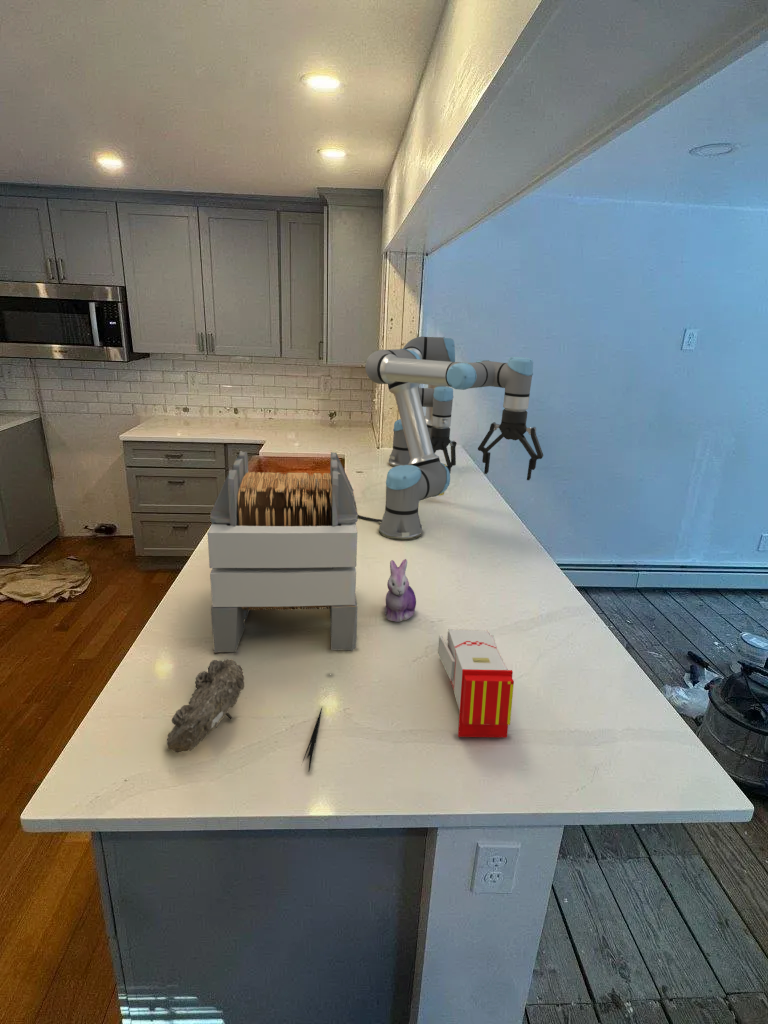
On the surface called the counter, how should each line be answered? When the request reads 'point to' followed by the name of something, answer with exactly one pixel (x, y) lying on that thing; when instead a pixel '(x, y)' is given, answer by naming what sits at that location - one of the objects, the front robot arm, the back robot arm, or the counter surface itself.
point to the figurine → (399, 594)
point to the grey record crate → (283, 549)
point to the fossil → (206, 705)
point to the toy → (478, 682)
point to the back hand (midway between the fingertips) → (436, 482)
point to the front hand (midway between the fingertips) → (507, 476)
